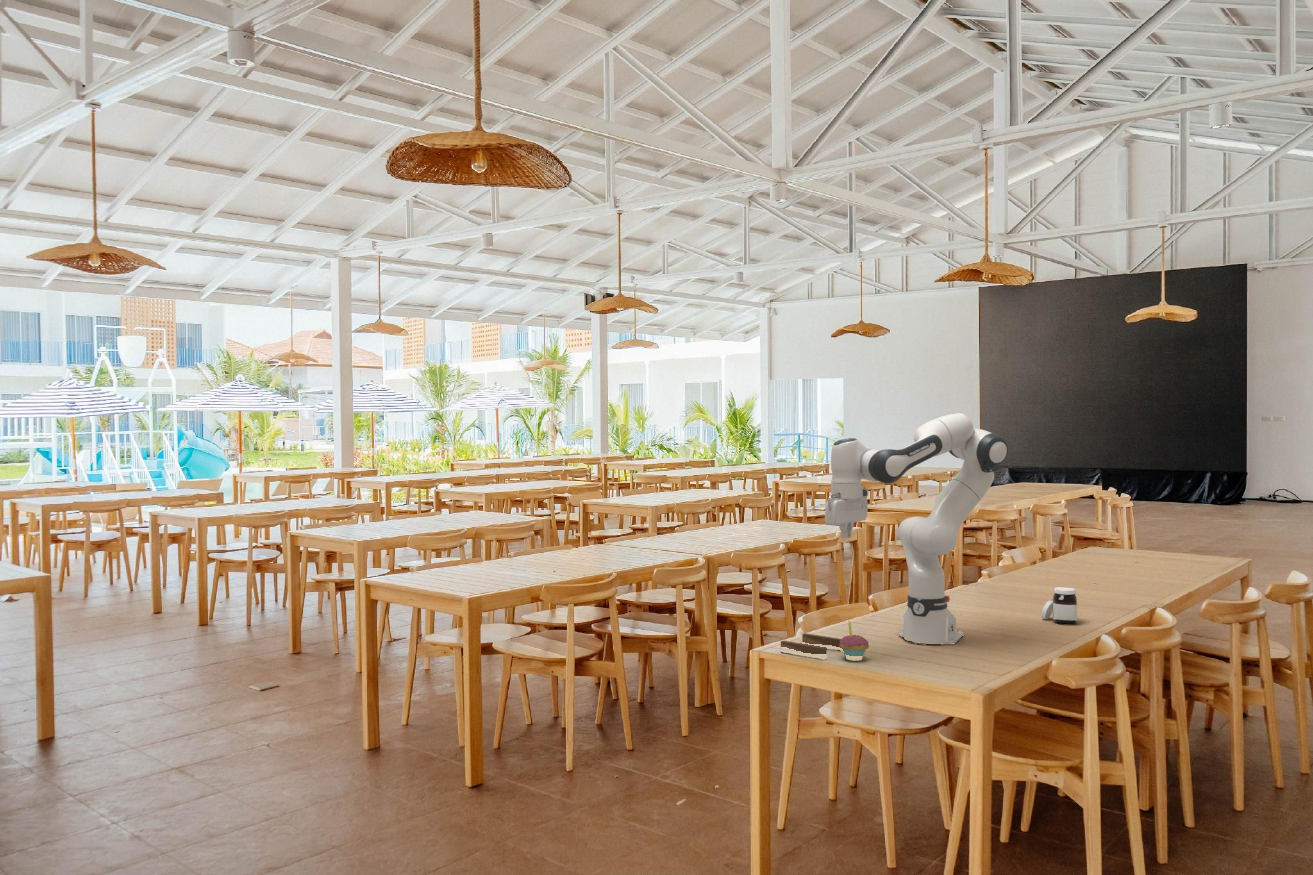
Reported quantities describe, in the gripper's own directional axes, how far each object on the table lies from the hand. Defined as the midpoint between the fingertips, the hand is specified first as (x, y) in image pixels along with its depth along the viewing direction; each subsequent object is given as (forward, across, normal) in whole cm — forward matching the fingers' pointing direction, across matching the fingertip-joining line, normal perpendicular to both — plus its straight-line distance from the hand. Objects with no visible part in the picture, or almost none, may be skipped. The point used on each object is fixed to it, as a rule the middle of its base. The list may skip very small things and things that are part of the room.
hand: (846, 537), depth 293 cm
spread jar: (+36, +84, -36) cm, 98 cm away
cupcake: (+35, -6, -5) cm, 36 cm away
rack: (+35, -5, +9) cm, 36 cm away
